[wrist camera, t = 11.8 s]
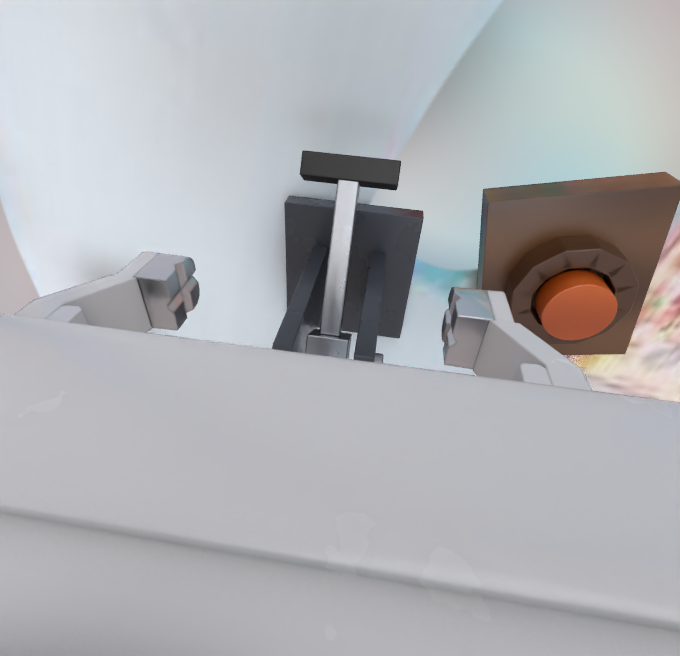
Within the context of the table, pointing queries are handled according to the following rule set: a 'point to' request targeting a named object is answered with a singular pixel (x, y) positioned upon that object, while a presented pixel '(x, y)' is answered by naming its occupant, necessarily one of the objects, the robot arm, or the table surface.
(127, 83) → the table surface
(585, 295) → the switch button
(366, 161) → the switch lever
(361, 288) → the switch bracket
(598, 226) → the switch box
